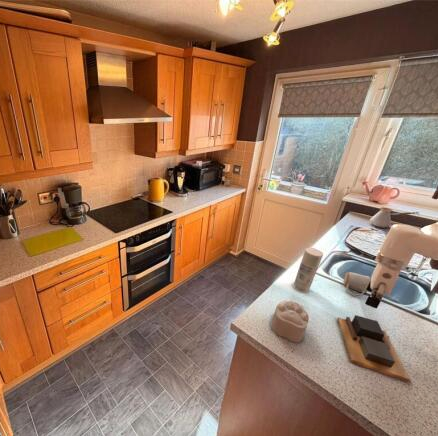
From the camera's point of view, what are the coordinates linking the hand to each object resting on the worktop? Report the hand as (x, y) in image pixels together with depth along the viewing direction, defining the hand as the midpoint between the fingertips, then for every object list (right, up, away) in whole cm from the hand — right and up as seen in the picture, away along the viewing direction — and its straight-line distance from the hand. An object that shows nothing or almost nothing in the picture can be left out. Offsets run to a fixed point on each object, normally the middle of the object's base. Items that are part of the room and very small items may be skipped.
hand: (370, 298), depth 85 cm
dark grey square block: (-2, -12, 0) cm, 13 cm away
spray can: (-10, -3, +23) cm, 26 cm away
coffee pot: (+90, +23, +80) cm, 122 cm away
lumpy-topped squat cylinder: (-29, -12, +4) cm, 31 cm away
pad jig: (-5, -15, -4) cm, 17 cm away
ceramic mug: (+13, -4, +22) cm, 26 cm away
